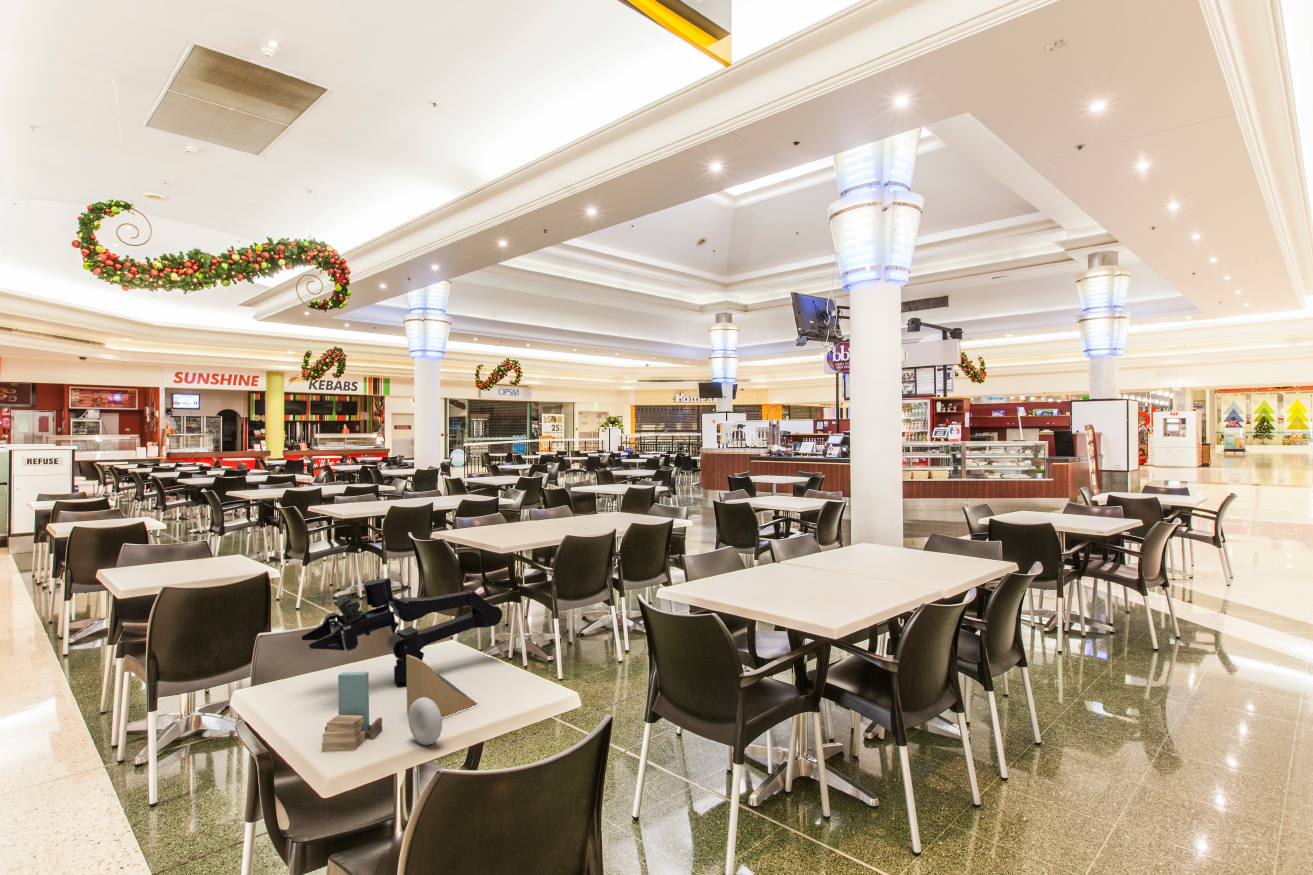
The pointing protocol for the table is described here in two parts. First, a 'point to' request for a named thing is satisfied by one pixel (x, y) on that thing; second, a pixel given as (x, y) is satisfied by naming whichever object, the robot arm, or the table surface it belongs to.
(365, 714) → the teal rectangular block
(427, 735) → the donut
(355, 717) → the offcut stack
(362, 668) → the table surface
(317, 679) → the table surface
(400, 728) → the table surface
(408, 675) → the sandwich container
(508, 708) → the table surface
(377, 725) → the rack
